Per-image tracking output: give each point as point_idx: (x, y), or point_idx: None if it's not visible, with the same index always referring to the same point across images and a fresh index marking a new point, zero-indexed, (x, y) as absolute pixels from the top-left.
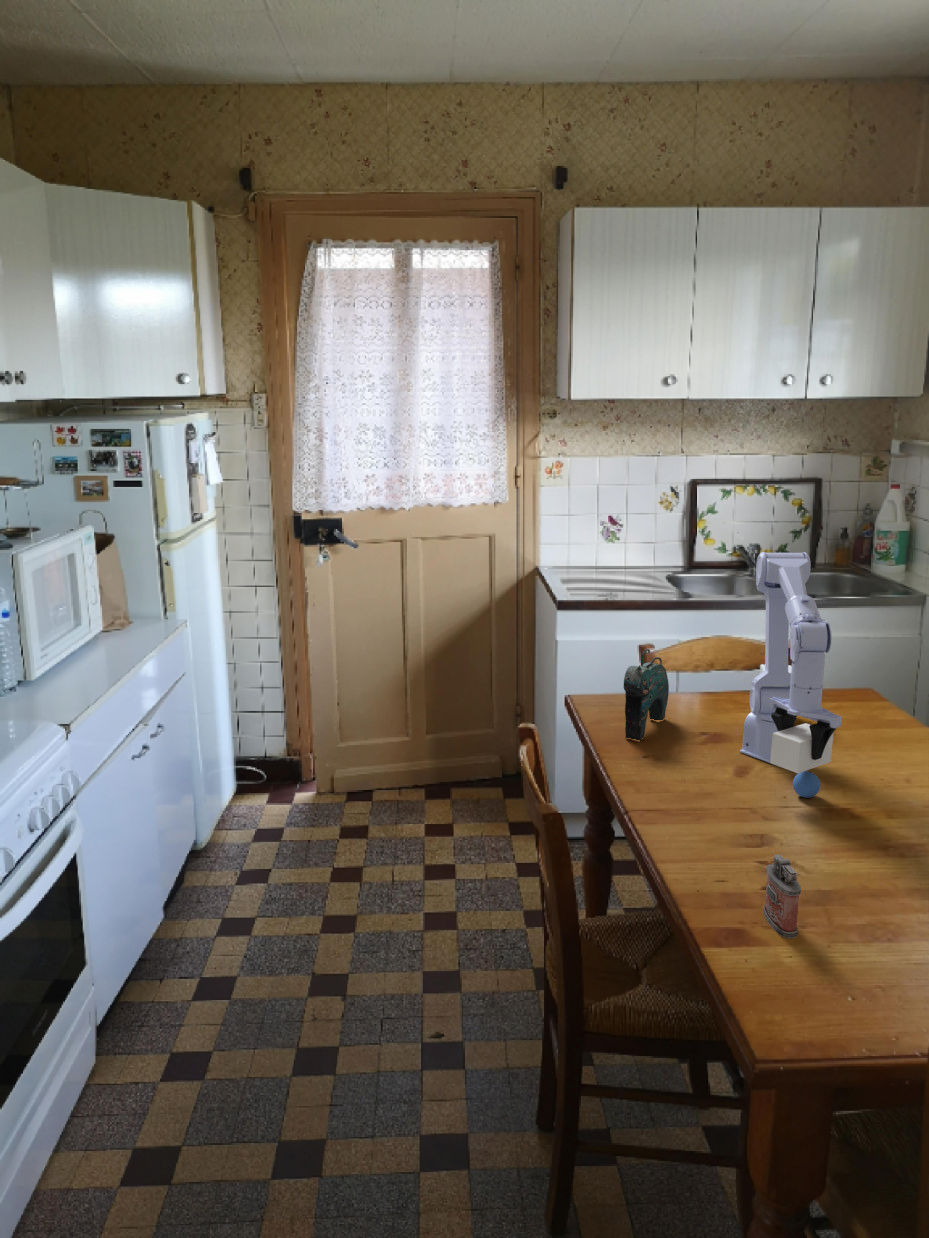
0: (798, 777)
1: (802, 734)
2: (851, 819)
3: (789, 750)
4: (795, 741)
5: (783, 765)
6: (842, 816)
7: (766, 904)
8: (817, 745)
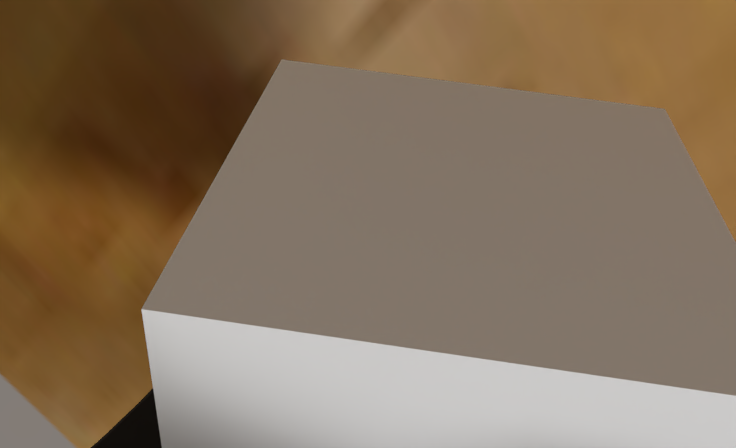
0: None
1: None
2: (65, 100)
3: (392, 208)
4: (252, 319)
5: (477, 97)
6: (119, 101)
7: None
8: (104, 441)
